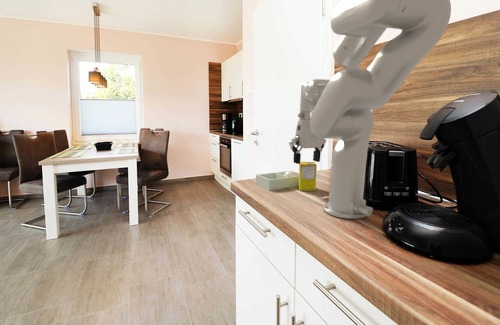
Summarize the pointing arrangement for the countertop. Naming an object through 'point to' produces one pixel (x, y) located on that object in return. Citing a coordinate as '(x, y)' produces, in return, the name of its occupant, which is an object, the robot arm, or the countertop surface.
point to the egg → (289, 174)
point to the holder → (277, 180)
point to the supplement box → (307, 176)
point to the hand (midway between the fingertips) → (306, 162)
